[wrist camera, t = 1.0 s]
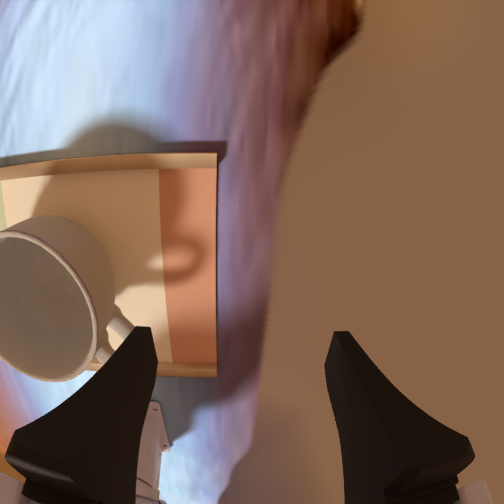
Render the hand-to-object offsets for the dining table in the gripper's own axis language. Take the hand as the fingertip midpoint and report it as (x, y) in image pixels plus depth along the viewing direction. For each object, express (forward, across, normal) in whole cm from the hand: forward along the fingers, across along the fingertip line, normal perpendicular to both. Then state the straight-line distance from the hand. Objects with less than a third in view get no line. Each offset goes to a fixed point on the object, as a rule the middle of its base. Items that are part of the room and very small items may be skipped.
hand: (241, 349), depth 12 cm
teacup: (+11, +13, +5) cm, 18 cm away
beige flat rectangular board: (+11, +18, +5) cm, 22 cm away
